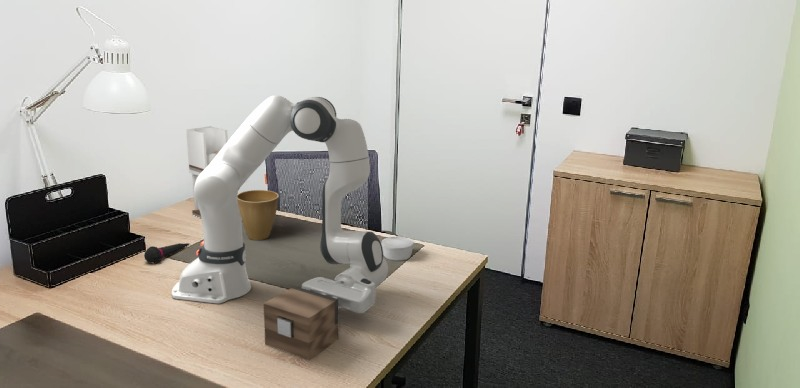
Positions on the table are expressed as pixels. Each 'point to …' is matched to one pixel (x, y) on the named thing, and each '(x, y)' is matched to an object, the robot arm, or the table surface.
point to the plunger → (285, 327)
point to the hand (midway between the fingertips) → (319, 305)
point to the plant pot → (258, 212)
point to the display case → (203, 151)
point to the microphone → (162, 252)
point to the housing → (302, 322)
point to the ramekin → (397, 248)
